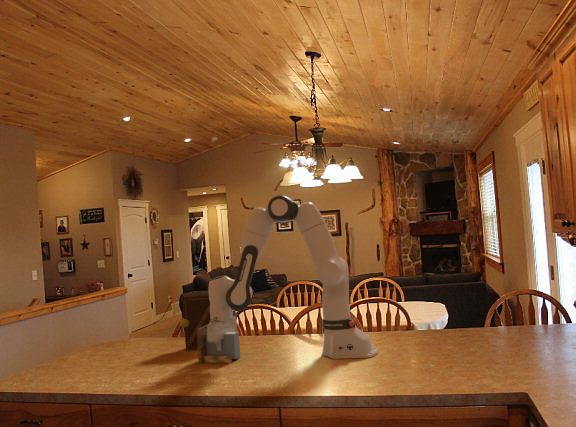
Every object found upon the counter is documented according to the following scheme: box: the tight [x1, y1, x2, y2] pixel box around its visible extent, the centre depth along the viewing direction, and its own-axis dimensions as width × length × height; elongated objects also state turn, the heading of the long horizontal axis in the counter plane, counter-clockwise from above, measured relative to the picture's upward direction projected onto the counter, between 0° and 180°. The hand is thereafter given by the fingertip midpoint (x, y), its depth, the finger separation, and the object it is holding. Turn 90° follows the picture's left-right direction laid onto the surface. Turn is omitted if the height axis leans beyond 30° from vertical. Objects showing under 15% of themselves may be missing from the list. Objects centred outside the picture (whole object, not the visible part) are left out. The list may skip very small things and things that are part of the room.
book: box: [179, 292, 210, 351], centre depth 247 cm, size 22×8×25 cm, turn 84°
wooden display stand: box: [196, 325, 240, 364], centre depth 222 cm, size 14×13×14 cm
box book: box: [206, 331, 241, 360], centre depth 221 cm, size 13×4×10 cm, turn 70°
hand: (223, 348), depth 221 cm, fingers closed on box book, 4 cm apart
